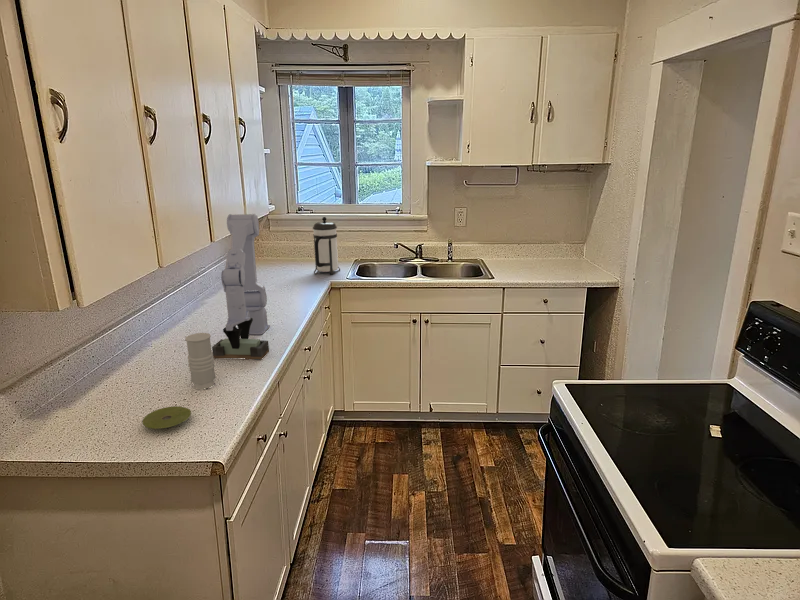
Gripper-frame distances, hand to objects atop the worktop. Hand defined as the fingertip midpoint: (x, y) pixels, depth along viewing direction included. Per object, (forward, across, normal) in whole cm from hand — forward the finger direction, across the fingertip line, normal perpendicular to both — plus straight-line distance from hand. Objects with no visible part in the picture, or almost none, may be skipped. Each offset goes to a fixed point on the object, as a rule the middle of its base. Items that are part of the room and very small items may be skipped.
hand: (240, 344), depth 175 cm
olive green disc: (+4, -45, +1) cm, 45 cm away
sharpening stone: (+3, 0, 0) cm, 3 cm away
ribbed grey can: (+4, -23, +2) cm, 23 cm away
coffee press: (+4, +116, -1) cm, 116 cm away
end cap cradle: (+4, 0, 0) cm, 4 cm away
